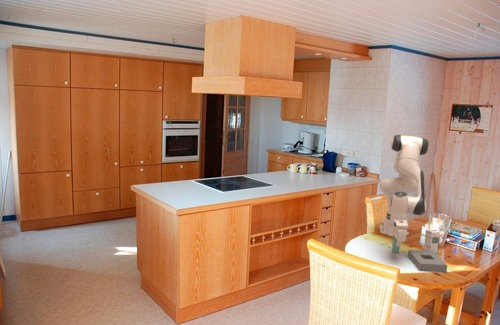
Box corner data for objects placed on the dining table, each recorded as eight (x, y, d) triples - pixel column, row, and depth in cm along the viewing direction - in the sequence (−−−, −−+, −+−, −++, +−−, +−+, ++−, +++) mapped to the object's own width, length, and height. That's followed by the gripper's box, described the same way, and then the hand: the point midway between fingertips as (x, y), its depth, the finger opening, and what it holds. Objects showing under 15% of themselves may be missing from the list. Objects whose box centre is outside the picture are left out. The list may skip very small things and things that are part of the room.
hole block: (407, 256, 228) (408, 249, 228) (432, 257, 227) (433, 250, 227) (419, 270, 209) (420, 263, 208) (446, 272, 207) (447, 265, 207)
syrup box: (430, 256, 229) (432, 232, 227) (423, 252, 235) (425, 229, 233) (438, 255, 231) (440, 231, 229) (431, 251, 237) (433, 228, 234)
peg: (391, 250, 227) (392, 234, 226) (398, 251, 227) (399, 234, 225) (392, 253, 223) (394, 236, 222) (400, 254, 223) (401, 237, 221)
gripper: (388, 215, 232) (386, 237, 235) (397, 226, 212) (395, 250, 215) (399, 215, 232) (397, 237, 234) (409, 226, 212) (407, 251, 214)
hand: (396, 243), depth 224 cm, fingers closed on peg, 4 cm apart
